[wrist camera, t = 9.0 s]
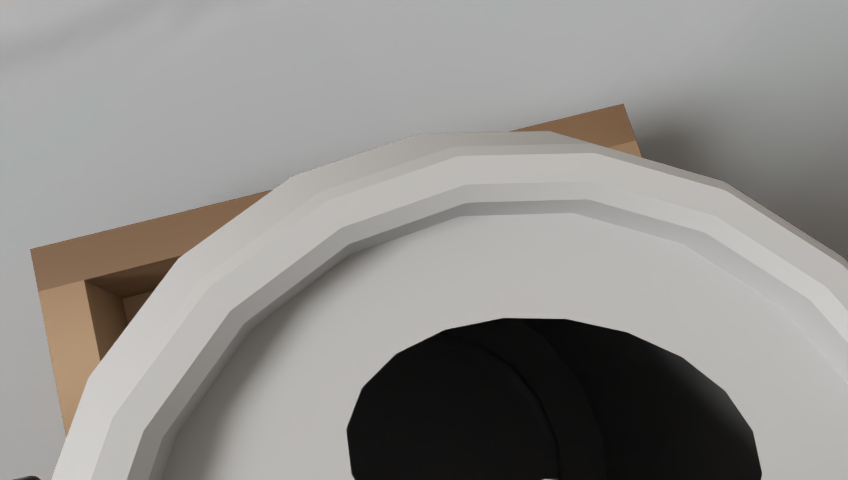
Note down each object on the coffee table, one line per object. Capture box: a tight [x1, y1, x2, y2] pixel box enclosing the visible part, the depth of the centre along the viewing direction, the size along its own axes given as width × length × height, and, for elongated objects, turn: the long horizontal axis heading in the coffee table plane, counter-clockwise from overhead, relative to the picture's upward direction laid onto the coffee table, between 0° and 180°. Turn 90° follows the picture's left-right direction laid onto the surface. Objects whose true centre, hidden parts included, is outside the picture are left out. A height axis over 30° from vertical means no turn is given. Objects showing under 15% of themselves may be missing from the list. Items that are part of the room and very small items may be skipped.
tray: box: [30, 104, 642, 438], centre depth 15 cm, size 12×12×3 cm
